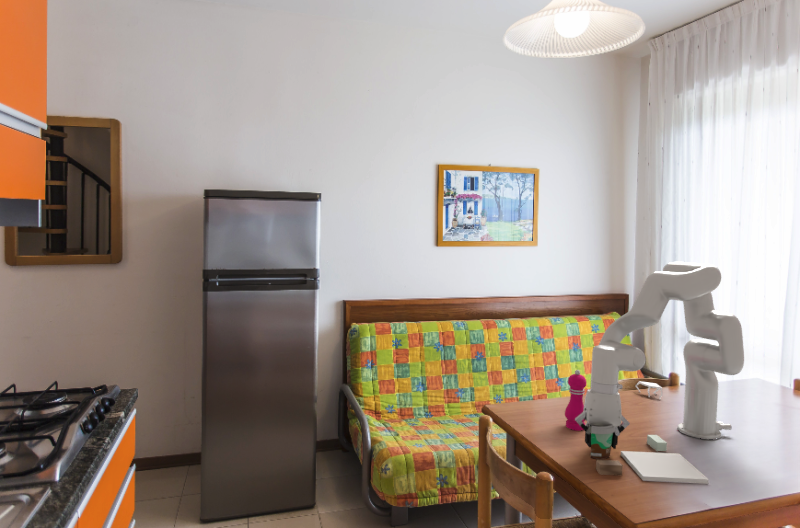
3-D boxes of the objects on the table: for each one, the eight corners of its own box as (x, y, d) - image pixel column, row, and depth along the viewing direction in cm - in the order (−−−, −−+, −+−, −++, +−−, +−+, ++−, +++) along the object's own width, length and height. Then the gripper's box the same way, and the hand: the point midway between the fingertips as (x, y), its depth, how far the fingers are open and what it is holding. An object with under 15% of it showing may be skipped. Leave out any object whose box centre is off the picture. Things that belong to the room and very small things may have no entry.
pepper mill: (588, 432, 168) (590, 373, 167) (565, 430, 169) (567, 371, 168) (584, 424, 175) (587, 368, 174) (563, 422, 176) (565, 366, 175)
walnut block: (617, 471, 140) (618, 460, 140) (622, 476, 137) (622, 465, 137) (596, 470, 141) (596, 459, 141) (599, 475, 138) (600, 464, 138)
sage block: (646, 443, 160) (647, 434, 160) (656, 444, 160) (656, 434, 160) (656, 452, 154) (657, 442, 154) (666, 452, 154) (667, 442, 154)
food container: (612, 464, 144) (614, 430, 143) (589, 459, 147) (591, 426, 146) (616, 448, 155) (617, 417, 154) (594, 444, 158) (596, 413, 157)
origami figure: (667, 396, 209) (668, 384, 209) (661, 400, 203) (662, 388, 203) (637, 389, 217) (637, 378, 217) (630, 394, 211) (631, 382, 211)
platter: (679, 457, 150) (679, 453, 149) (708, 483, 134) (708, 479, 134) (620, 454, 151) (620, 450, 151) (643, 480, 135) (643, 476, 135)
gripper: (628, 385, 153) (625, 443, 154) (571, 382, 154) (568, 439, 155) (638, 392, 145) (635, 453, 146) (578, 389, 147) (574, 449, 147)
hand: (600, 445), depth 151 cm, fingers closed on food container, 6 cm apart
